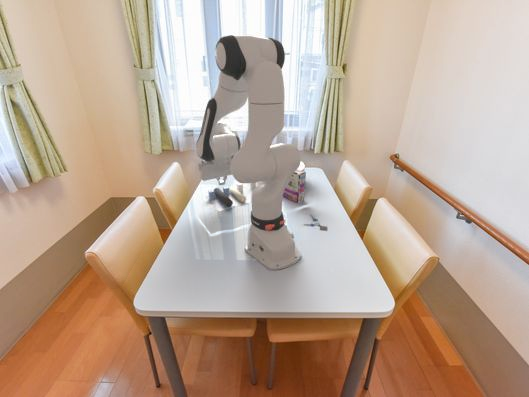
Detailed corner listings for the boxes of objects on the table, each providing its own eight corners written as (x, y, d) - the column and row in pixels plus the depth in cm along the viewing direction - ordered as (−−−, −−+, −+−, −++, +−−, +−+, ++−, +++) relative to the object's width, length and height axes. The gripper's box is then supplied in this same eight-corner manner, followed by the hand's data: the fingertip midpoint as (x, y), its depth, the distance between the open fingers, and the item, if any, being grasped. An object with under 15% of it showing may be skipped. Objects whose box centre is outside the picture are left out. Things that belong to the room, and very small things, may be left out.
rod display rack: (269, 198, 138) (269, 189, 135) (219, 213, 125) (218, 203, 122) (252, 186, 151) (252, 177, 148) (205, 198, 138) (204, 188, 136)
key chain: (330, 230, 113) (330, 228, 113) (315, 235, 110) (315, 234, 109) (311, 215, 124) (311, 213, 124) (296, 219, 121) (296, 217, 120)
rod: (246, 201, 133) (246, 195, 131) (240, 203, 131) (240, 197, 130) (234, 191, 143) (233, 185, 142) (228, 192, 142) (228, 187, 140)
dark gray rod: (233, 205, 128) (232, 199, 127) (226, 207, 127) (225, 201, 125) (219, 193, 140) (219, 187, 139) (213, 194, 139) (213, 188, 137)
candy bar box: (304, 201, 135) (306, 171, 127) (297, 205, 132) (299, 174, 124) (288, 194, 142) (289, 165, 134) (281, 197, 139) (282, 168, 131)
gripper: (200, 163, 115) (203, 191, 122) (242, 155, 125) (243, 182, 131) (195, 159, 120) (199, 186, 127) (236, 152, 130) (237, 178, 136)
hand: (222, 184), depth 129 cm, fingers closed
